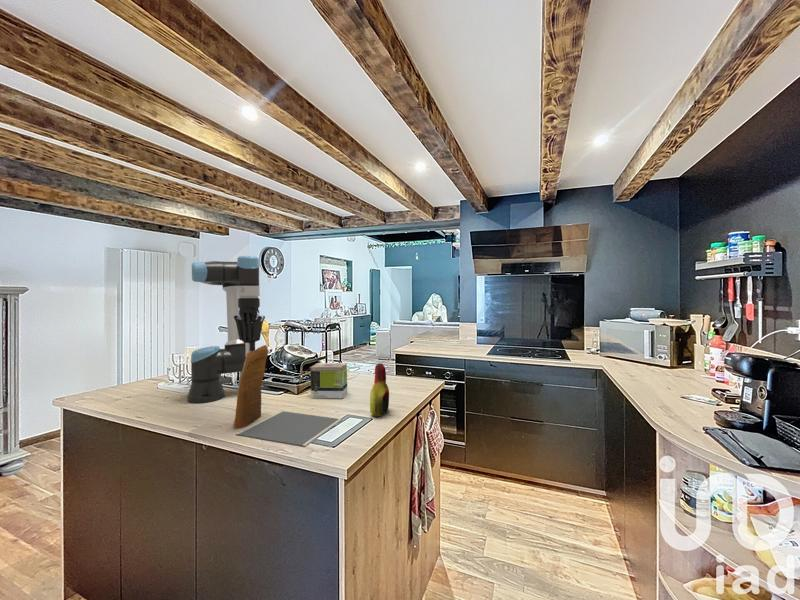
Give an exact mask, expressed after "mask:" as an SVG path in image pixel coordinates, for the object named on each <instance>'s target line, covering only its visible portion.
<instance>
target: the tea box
mask: <svg viewBox="0 0 800 600" xmlns="http://www.w3.org/2000/svg"><path fill="white" fill-rule="evenodd" d="M347 393H348V365H347V362H318V363H315V364H313V365H312V366H310V397H311V399H343V398H344V397H345V396H346V395H347Z"/></svg>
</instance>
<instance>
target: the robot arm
mask: <svg viewBox="0 0 800 600" xmlns="http://www.w3.org/2000/svg"><path fill="white" fill-rule="evenodd" d="M260 265H261V264H260V260H259V258H258V257H257V256H254V255H253V256H252V255H240V256H238V257H237V259H236V261H221V260H220V261H218V260H215V261H214V260H213V261H212V260H211V261H199V262H198V261H194V262H192V263H191V280H192V282H195V283H202V284H204V285H205V284H206V285H210V286H222V290H223V291H224V292H225V294H226V295H225V297H226V299H225V300H226V324H227V325H226V326H227V327H226V328H227V341H226V342H225V344H224V348H221V347H220V346H219V345H215V346H213V345H211V346H206V347H205V346H204V347H202V348H199V349H195V350H193V351H192V352H191V355H190V357H191V358H190V366H191V369H190V370H191V371H190V372H191V378H190V379H191V382H190V383H191V384H190V387H189V389H188V394H187V395H186V396H187V397H186V399H187V402H189V403H193V404H204V403H211V402H214V401H218V400H221V399H223V398H224V397H225V395H226V392H225V389H224V386H223V384H222V380H221V375H222V374H232V373H233V374H234V373H241V372H242V369H243V365H244V362H245V358H246V357H247V353H249V352H252V351H254V350H256V342H258V341H259V342H260V340H261V335H262V331H263V330H262V328H263V324H264V320H265V319H266V317H265V315H262V314H261V313H260V311H259V308H260V307H261V301H260V300H261V299H260V298H259V297H260V295H261V293H260Z"/></svg>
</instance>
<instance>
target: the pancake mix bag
mask: <svg viewBox="0 0 800 600" xmlns="http://www.w3.org/2000/svg"><path fill="white" fill-rule="evenodd" d="M268 350H269V349H268V346H267V345H266V344H264V345H262V346H260V347H258V348H255V350H254V351H252V352H249V353H247V357H246V358H245V362H244V365H243V369H242V372H240V375H239V376H240V377H239V382H238V386H237V388H238V389H237V396H236V407H235V415H234V421H233V426H234V429H240V428H244V427H247V426H248V425H250V424H252V423H253V422H254V421H256V420H258V419H259V418H261V417H262V383H263V379H264V376H265V373H266V372H265V370H266V364H267V358H268V353H269V352H268Z"/></svg>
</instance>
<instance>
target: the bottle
mask: <svg viewBox="0 0 800 600" xmlns="http://www.w3.org/2000/svg"><path fill="white" fill-rule="evenodd" d="M389 403H390V389H389V386H388V384H387V372H386V366H385V365H384V364H383V363H381V362H379V363H377V364H376V365H375V367H374V382H373V385H372V388H371V389H370V394H369V412H370V414H371V415H373V416H376V417H381V416H383V415H385V414H386V413H387V412H388V410H389V405H390V404H389Z"/></svg>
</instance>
